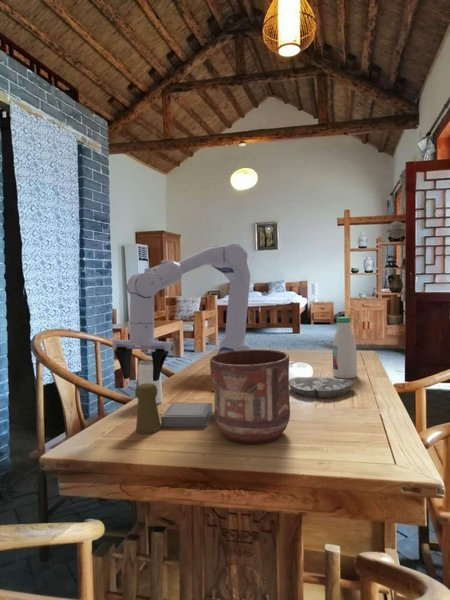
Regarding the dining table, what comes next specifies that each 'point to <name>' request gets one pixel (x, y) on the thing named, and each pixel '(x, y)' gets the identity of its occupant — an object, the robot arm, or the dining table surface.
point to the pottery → (251, 394)
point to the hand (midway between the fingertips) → (141, 379)
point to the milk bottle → (344, 350)
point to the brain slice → (320, 386)
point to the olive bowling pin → (147, 409)
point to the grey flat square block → (187, 415)
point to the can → (149, 377)
